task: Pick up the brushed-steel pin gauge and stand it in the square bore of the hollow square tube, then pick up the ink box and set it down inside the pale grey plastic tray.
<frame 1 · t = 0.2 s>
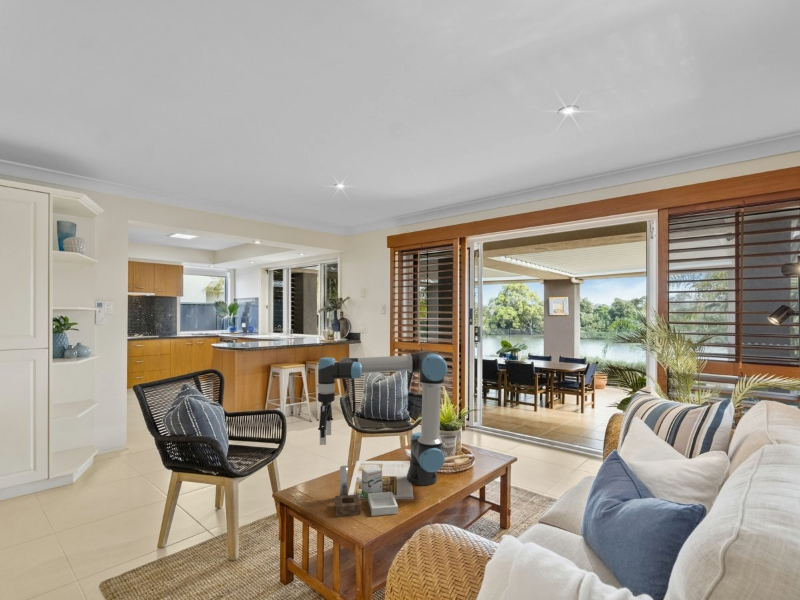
hand: (325, 439, 190), 27 cm above the table, fingers open, 13 cm apart
ink box: (371, 495, 195), on the table
hollow square tube: (347, 509, 180), on the table
pin gauge: (343, 498, 191), on the table
tray: (382, 506, 183), on the table
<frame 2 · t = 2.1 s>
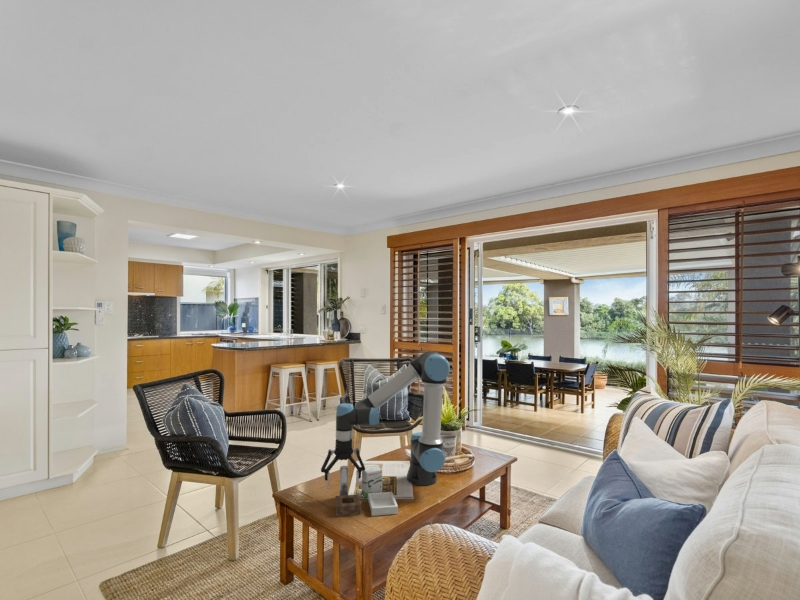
hand: (342, 486, 191), 5 cm above the table, fingers open, 12 cm apart
nothing on the table moved.
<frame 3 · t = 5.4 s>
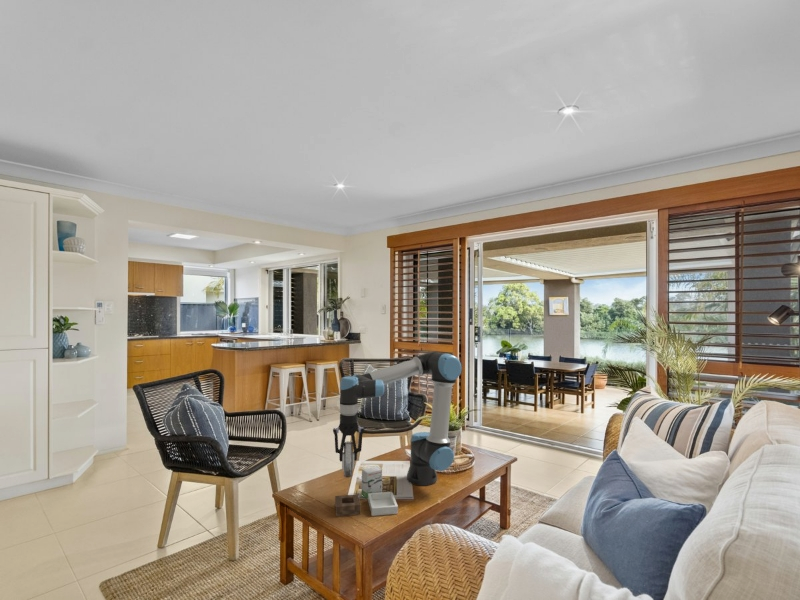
hand: (348, 468, 180), 18 cm above the table, fingers closed on pin gauge, 4 cm apart
pin gauge: (347, 475, 180), point 14 cm above the table, touching gripper
everything else where it was.
when the fingers open (5 cm above the table, at t = 8.2 s): pin gauge stays where it is, resting on hollow square tube.
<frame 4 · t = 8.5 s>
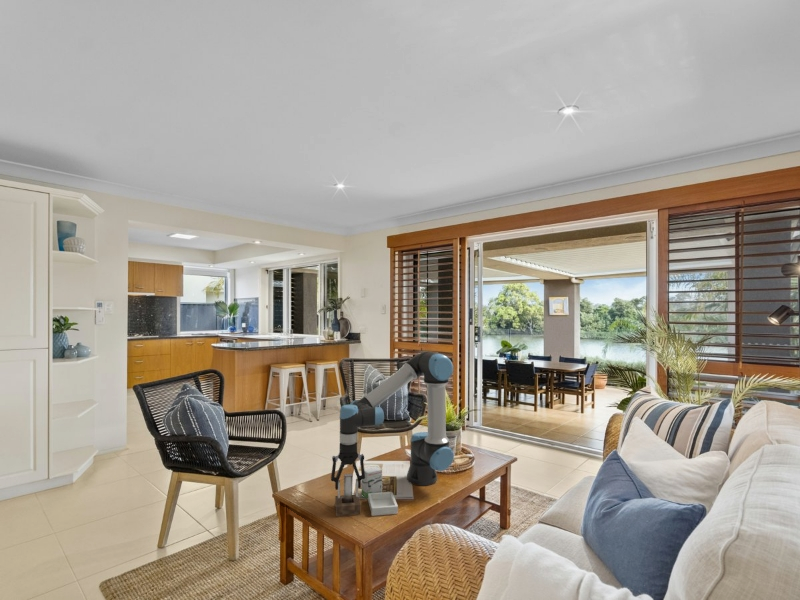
hand: (347, 496, 180), 6 cm above the table, fingers open, 7 cm apart
pin gauge: (347, 508, 180), point 1 cm above the table, touching hollow square tube
everything else where it was.
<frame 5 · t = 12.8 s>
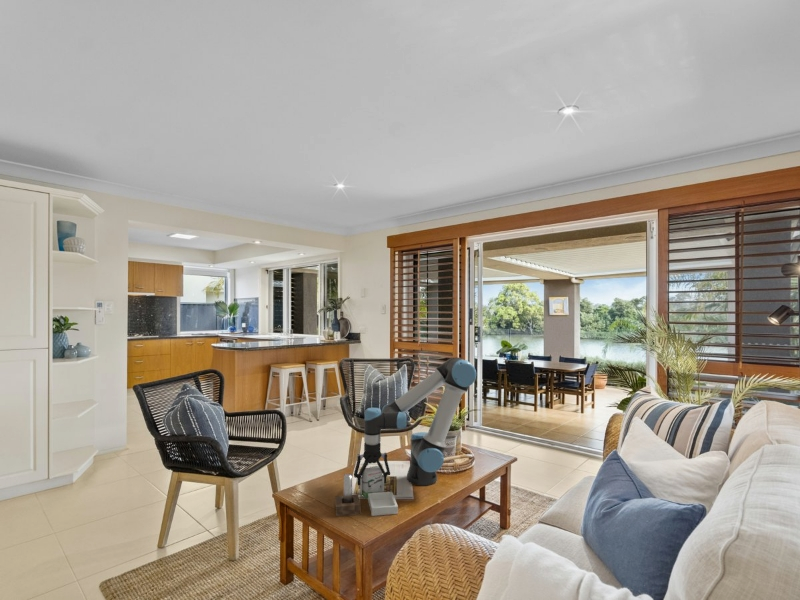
hand: (371, 491, 195), 2 cm above the table, fingers closed on ink box, 9 cm apart
ink box: (371, 495, 195), on the table, touching gripper
everything else where it was.
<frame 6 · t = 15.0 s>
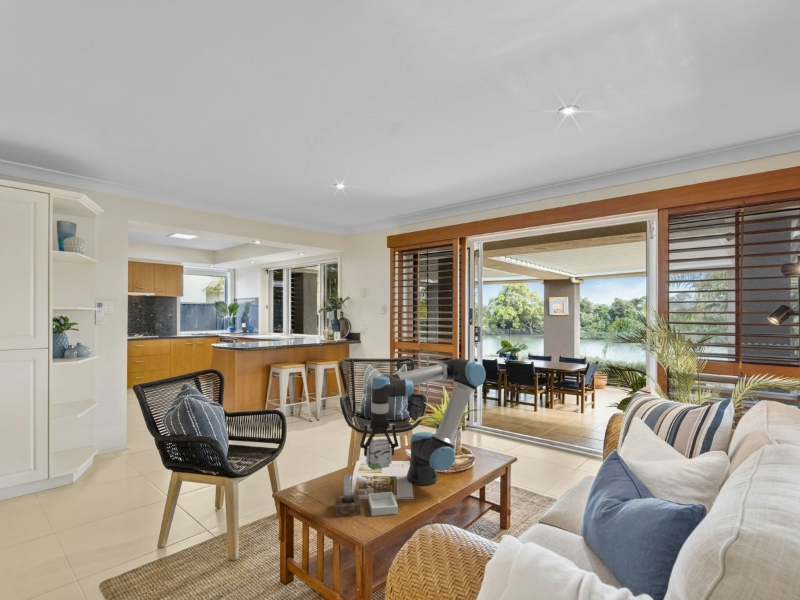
hand: (378, 462, 186), 18 cm above the table, fingers closed on ink box, 9 cm apart
ink box: (378, 467, 186), point 16 cm above the table, touching gripper
everything else where it was.
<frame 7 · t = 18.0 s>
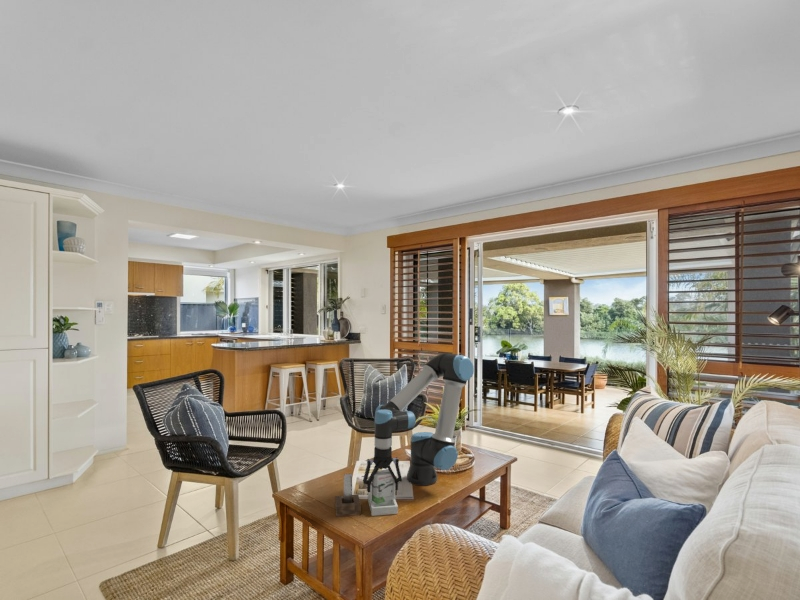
hand: (382, 498, 183), 4 cm above the table, fingers closed on ink box, 9 cm apart
ink box: (382, 500, 183), point 3 cm above the table, touching gripper, tray
everything else where it was.
when the fingers open (4 cm above the table, at t = 18.4 s): ink box stays where it is, resting on tray.
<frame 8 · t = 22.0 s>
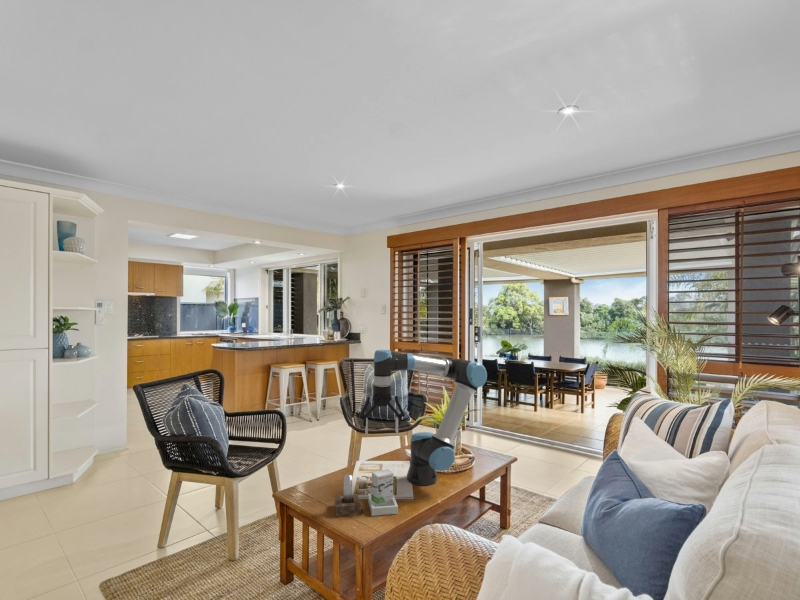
hand: (381, 433, 187), 31 cm above the table, fingers open, 13 cm apart
ink box: (382, 500, 183), point 3 cm above the table, touching tray
everything else where it was.
at the end: ink box inside the target area on the tray (0.1 cm from its centre), point 2.9 cm above the tray's base; ink box tilted 0°; pin gauge 0.0 cm off-centre on the hollow square tube, point 0.6 cm above the hollow square tube's base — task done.
